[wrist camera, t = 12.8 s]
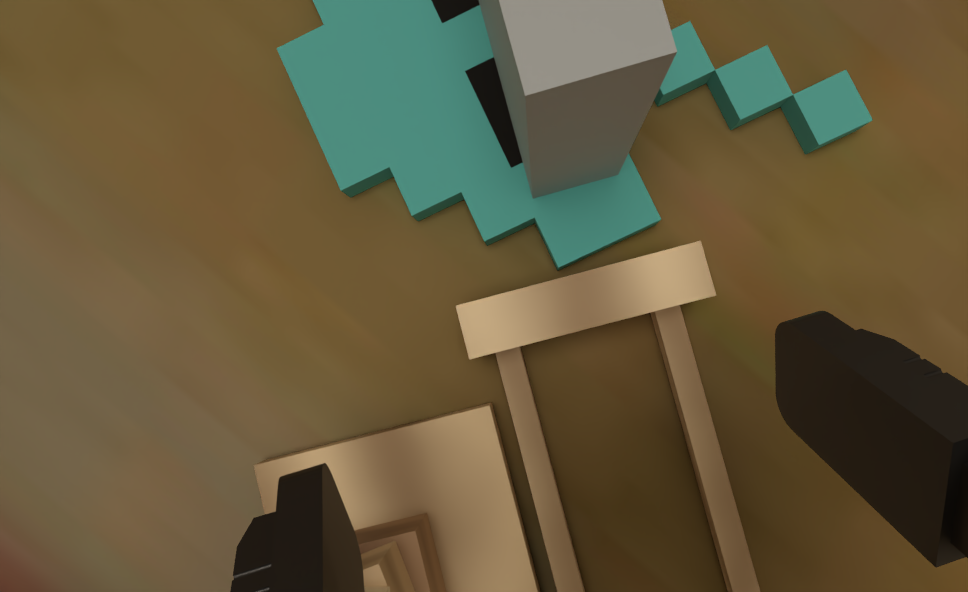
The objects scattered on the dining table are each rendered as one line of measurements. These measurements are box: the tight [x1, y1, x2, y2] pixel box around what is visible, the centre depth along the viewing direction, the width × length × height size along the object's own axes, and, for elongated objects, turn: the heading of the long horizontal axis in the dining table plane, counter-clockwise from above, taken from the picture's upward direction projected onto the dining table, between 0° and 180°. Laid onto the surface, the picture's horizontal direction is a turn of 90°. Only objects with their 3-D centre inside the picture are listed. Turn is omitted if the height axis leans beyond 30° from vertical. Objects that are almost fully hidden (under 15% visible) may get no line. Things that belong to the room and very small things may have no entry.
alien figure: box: [277, 0, 872, 270], centre depth 29 cm, size 20×2×20 cm
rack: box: [254, 241, 760, 592], centre depth 26 cm, size 19×19×4 cm
